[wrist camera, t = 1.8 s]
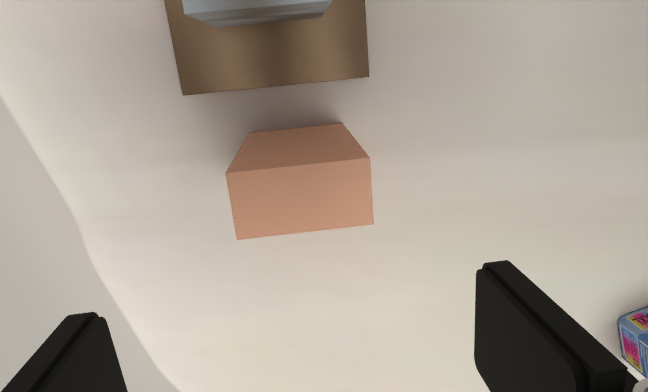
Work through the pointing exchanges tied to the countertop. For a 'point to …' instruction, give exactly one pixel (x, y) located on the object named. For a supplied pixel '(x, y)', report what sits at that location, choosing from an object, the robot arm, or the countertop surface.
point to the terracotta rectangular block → (299, 182)
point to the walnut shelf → (266, 42)
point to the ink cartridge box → (635, 339)
